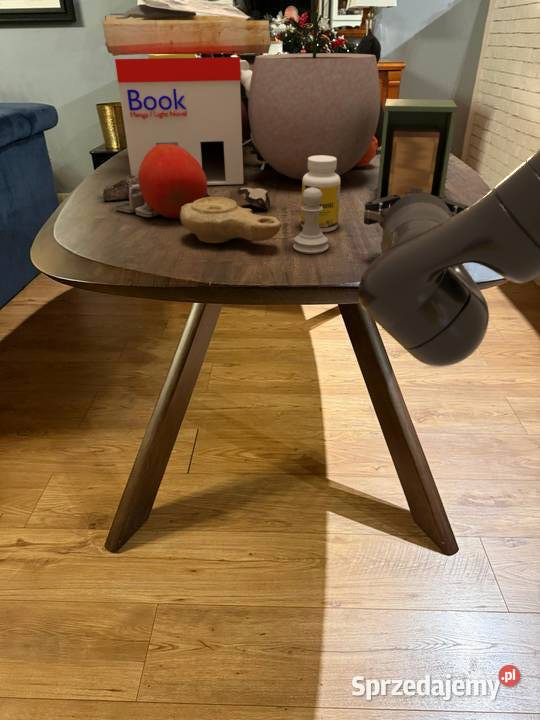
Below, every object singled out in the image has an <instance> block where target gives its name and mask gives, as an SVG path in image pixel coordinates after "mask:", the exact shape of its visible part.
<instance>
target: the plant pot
mask: <svg viewBox="0 0 540 720" xmlns="http://www.w3.org/2000/svg"><path fill="white" fill-rule="evenodd" d="M319 2H320V1H319V0H314V2H313V4H314V7H315V8H314V9H315V11H314V12H313V10H311V9H307V8H304V7H299V6H297V7H296V9H297V10H298V11H300V12H302V13H305V14H313V27H312V30H313V32H312V33H313V35H312V38H311V37H310V35H309V34H308V33H307V31H305V28H304V27H303V26H302V25H300V23H299V22H297V21H296V20H295V19H291V21H292V23H293V25H294V26H295V28H296V30H299V31H301V32H303V33H304V38H305V39H308V40H309V42H310V43H311V44H312V53H284V54H283V53H280V54H278V53H277V54H275V53H274V54H260V55H259V56H256V58H255V62H254V67H253V71H252V77H251V83H250V90H249V100H248V116H249V123H250V128H251V133H252V136H253V139H254V142H255V145H256V147H257V148H256V147H255V148H256V150H257V149H258V151H259V153H260V154H261V156H262V157H263V158H264V160H265V161H266V163H267V164H268V165H269V166H270V167H271V168H272V169H273V170H274V171H276V172H278V173H279V174H281V175H283V176H285V177H288V178H290V179H294V180H297V181H303V177H304V175H305V174H307V173H309V169H308V158H309V157H311V156H318V155H325V156H333V157H335V158H337V166H336V170H335V171H334V172H335V173H336V174H338V175H339V176H341V175H344V174H345V173H347V172H348V171H350V170H351V169H352V168H354V167H356V166H355V165H356V164H357V163H358V162H359V161H360V159H361V158H362V157H363V156H364V154H365V153H366V151H367V150H368V148H369V146H370V144H371V142H372V140H373V137H374V134H375V131H376V128H377V124H378V120H379V114H380V100H381V85H380V76H379V67H378V64H377V61H376V56H375V55H369V54H356V53H335V52H334V53H328V52H327V53H323V52H321V53H318V52H317V44H318V43H317V41H318V26H319V25H320V23H321V22H322V17H323V16H322V14H319V13H318V5H319ZM328 3H329V0H327V2H326V4H325V6H324V8H323V10H322V11H324V10H325V8H326V6H327V5H328ZM318 14H319V15H318ZM305 43H307V41H306V42H305Z"/></svg>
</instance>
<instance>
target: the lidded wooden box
mask: <svg viewBox="0 0 540 720" xmlns="http://www.w3.org/2000/svg"><path fill="white" fill-rule="evenodd" d="M439 137H440V131H439V129H438V127H437V126H432V125H394V128H393V141H392V151H391V161H390V171H389V180H388V190H386V191H387V192H386V193H387V194H386V197H387V196H391V195H394V194H397V195H400V196H401V198H403V197H404V196H405V192H411V188H412V189H416V190H417V189H422V191H423V192H426V193H427V194H431V195H432V192H431V190H432V183H433V176H434V169H435V162H436V155H437V148H438V141H439ZM401 198H400V199H401Z"/></svg>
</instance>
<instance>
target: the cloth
mask: <svg viewBox="0 0 540 720" xmlns="http://www.w3.org/2000/svg"><path fill="white" fill-rule="evenodd" d="M109 16H123V17H116V18H117V19H127V18H129V17H133V18H161V17H185V16H198V14H197V13H196V12H188V11H180V10H172V9H164V8H156V7H151V6H148V5H146V4H144V3H143V4H141V3H140V4H138V5H135V6H134V7H131V8H130V9H128V10H125V12H118V13H117V12H116V13H110V15H109Z"/></svg>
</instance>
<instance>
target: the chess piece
mask: <svg viewBox="0 0 540 720" xmlns="http://www.w3.org/2000/svg"><path fill="white" fill-rule="evenodd" d="M302 198H303V201H304V203H305V204H306V205H305V206H302V205H301V207H300V210H301V209H302V210H303V211H304V217H305V224H304V227H302V229H301V232H299V234H298V235H296V236H295V237H294V243H293V246H292V247H293V249H294V250H295V251H296V252H298V253H301V254H306V255H316V254H321V253H324V252H326V251H327V250H328V248H329V244H328V240H329V239H328V237H326V236H325V235H324V234H323V233H324V232H321V231H320V228H319V224H318V221H319V212H320V211H321V210H322V209H323V207H321V206H318V205H319V203H320V202H321V200H322V193H321V191H320V190H319V189H318V188H314V187H311V188H307V189H306V190H305V191H304V192H303V196H302V195H301V199H302Z"/></svg>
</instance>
